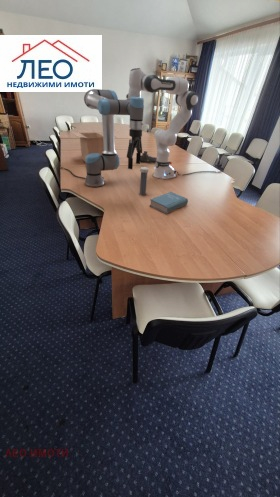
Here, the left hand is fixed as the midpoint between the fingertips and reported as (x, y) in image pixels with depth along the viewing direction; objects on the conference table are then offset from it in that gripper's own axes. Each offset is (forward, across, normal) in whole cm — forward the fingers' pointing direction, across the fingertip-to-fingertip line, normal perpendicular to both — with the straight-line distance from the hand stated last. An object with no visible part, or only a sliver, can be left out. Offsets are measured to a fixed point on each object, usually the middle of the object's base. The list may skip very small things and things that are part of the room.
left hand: (134, 166), depth 142 cm
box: (+26, +79, +78) cm, 114 cm away
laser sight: (+26, +108, +26) cm, 114 cm away
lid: (+7, +21, 0) cm, 22 cm away
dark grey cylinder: (+27, +21, 0) cm, 34 cm away
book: (+27, +10, -24) cm, 37 cm away
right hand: (-21, +47, +20) cm, 56 cm away
